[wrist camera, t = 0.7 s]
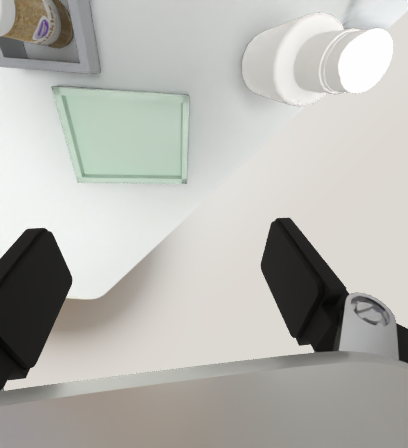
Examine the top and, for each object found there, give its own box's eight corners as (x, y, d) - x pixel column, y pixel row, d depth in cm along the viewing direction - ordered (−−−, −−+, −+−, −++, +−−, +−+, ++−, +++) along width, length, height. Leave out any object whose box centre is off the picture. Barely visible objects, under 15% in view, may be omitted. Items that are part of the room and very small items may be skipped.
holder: (-14, -46, 21) (-53, -69, 17) (84, -32, 22) (67, -51, 18) (22, 66, 26) (-2, 66, 22) (100, 72, 27) (90, 73, 23)
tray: (57, 85, 27) (51, 86, 26) (188, 94, 30) (189, 96, 28) (81, 177, 34) (77, 182, 33) (185, 179, 36) (186, 183, 35)
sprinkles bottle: (70, 56, 26) (-1, 50, 15) (24, 33, 24) (-93, 6, 13) (77, 9, 24) (0, -40, 13) (27, -21, 22) (-110, -105, 11)
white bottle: (277, 101, 31) (370, 132, 17) (233, 85, 30) (294, 104, 15) (302, 42, 28) (447, 15, 13) (253, 19, 26) (360, -39, 11)
